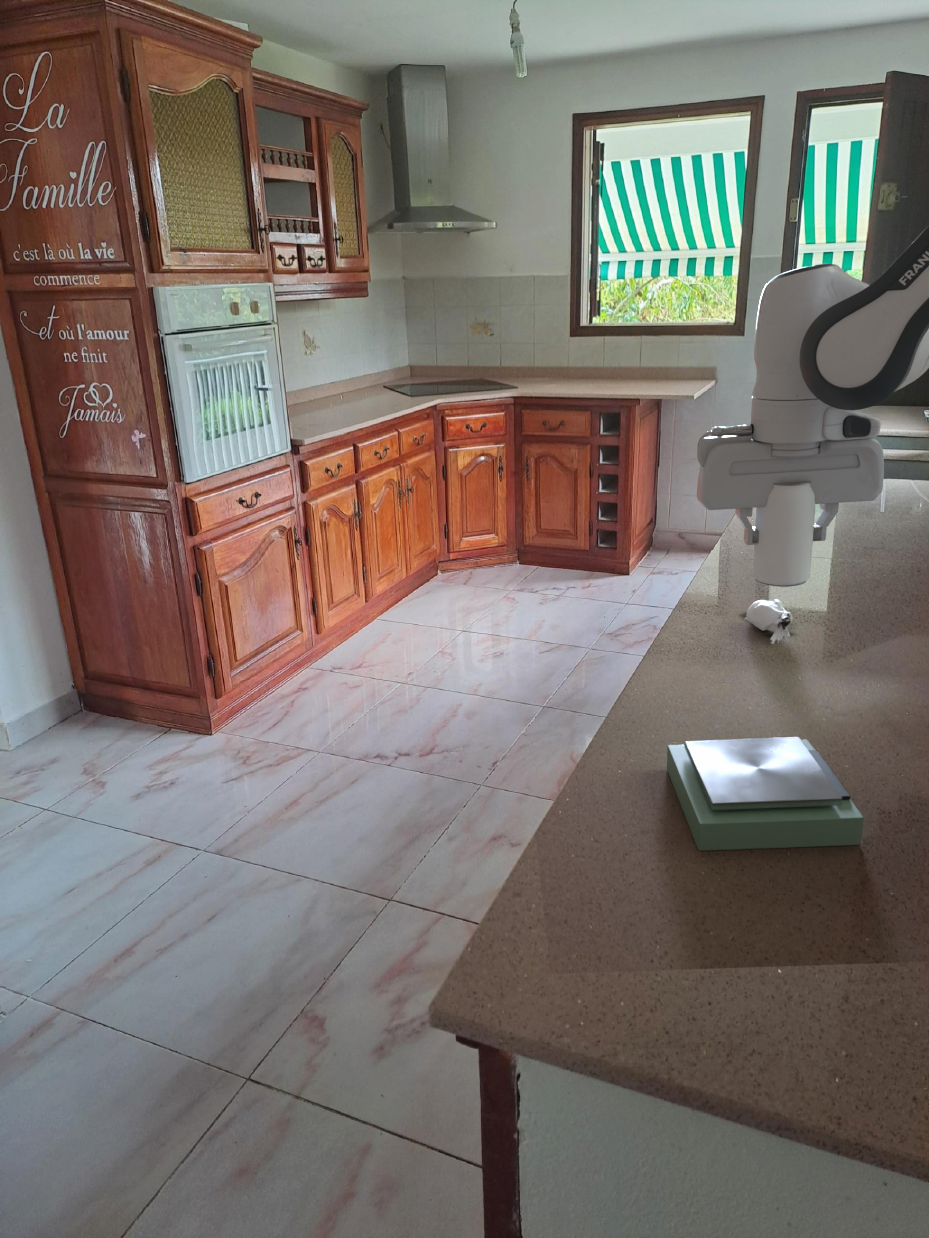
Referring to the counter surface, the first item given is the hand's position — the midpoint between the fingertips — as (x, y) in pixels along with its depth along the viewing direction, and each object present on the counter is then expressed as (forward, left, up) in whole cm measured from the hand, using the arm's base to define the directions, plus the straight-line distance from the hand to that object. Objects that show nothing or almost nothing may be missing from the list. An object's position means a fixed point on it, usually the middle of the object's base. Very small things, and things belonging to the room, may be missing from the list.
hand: (784, 541), depth 103 cm
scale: (+9, +23, -21) cm, 32 cm away
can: (0, 0, -5) cm, 5 cm away
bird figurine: (-6, -23, -21) cm, 32 cm away
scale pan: (+9, +23, -17) cm, 30 cm away
